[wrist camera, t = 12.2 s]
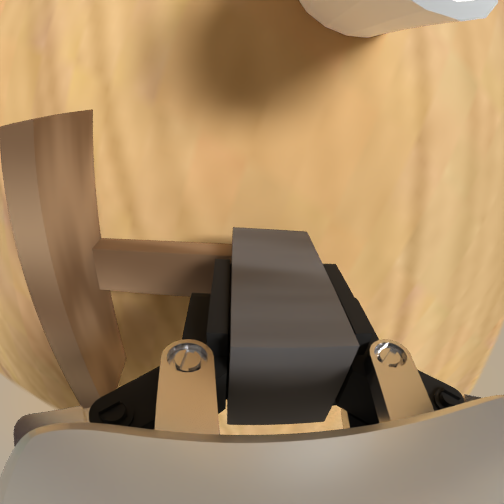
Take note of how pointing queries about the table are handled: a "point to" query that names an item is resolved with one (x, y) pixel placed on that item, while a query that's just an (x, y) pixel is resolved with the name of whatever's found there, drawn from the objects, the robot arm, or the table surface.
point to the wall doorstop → (167, 284)
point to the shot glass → (392, 14)
